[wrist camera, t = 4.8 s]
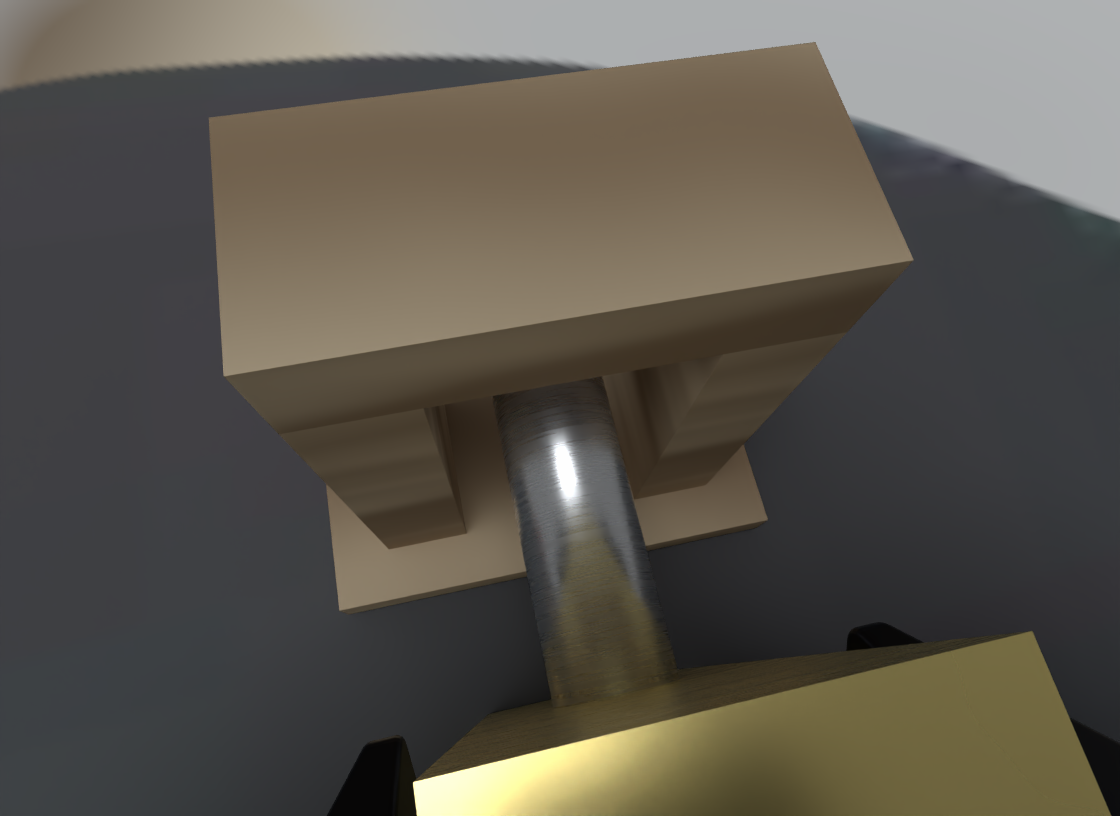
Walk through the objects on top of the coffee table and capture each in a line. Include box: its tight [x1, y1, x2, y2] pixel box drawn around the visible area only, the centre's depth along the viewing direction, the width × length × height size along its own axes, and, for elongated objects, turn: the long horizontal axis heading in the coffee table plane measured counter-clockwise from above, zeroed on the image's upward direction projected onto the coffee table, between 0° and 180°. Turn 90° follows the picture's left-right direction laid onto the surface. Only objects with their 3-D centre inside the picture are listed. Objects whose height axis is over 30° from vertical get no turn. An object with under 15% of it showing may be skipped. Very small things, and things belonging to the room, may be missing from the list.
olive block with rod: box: [413, 376, 1111, 816], centre depth 11 cm, size 13×4×11 cm, turn 12°
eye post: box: [209, 42, 913, 614], centre depth 12 cm, size 5×9×10 cm, turn 102°
